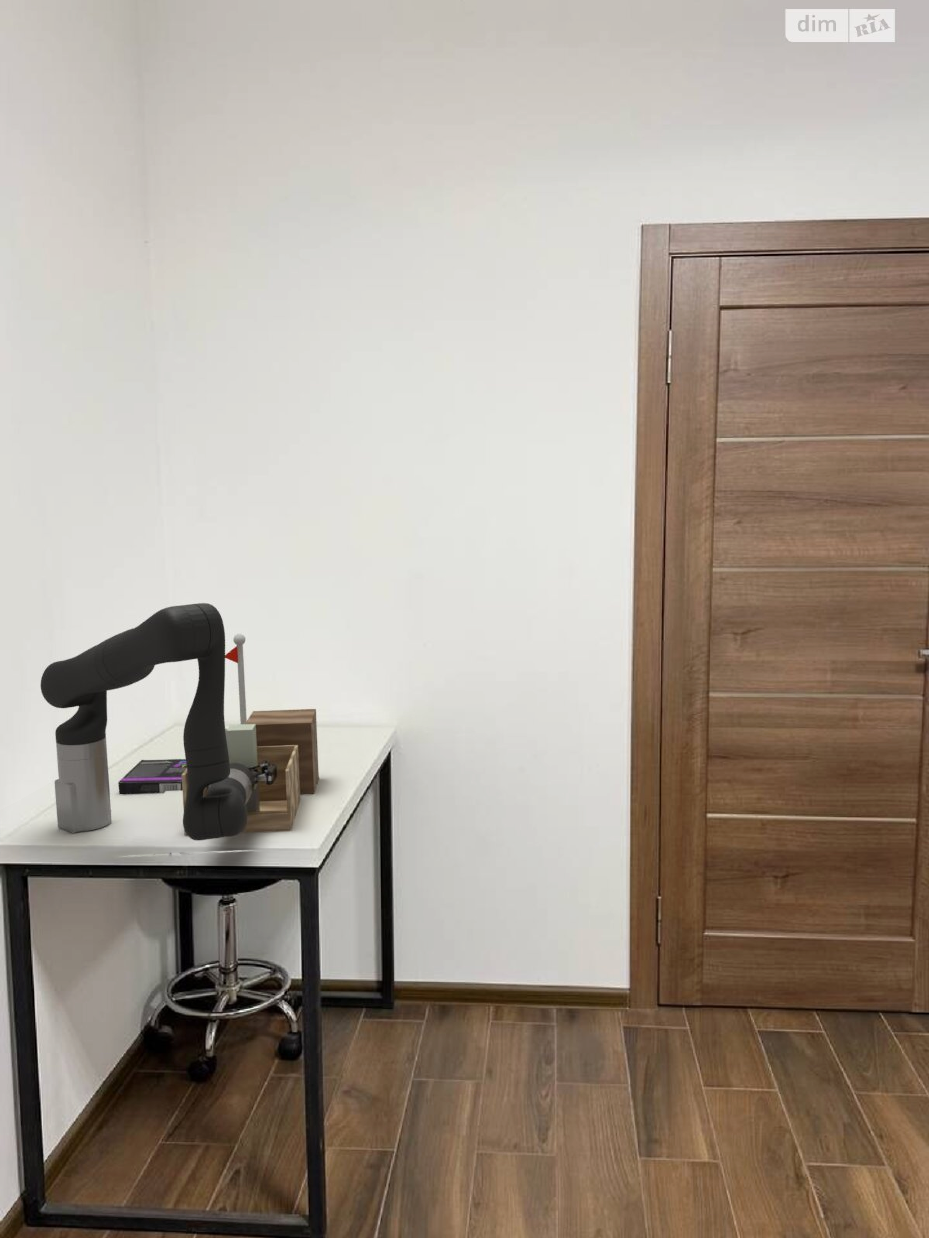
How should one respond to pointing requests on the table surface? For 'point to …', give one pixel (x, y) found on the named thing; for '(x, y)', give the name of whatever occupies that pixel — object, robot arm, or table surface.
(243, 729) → the box
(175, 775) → the box
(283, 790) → the wooden open bin
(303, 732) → the riser
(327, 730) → the table surface
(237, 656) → the flag stand
